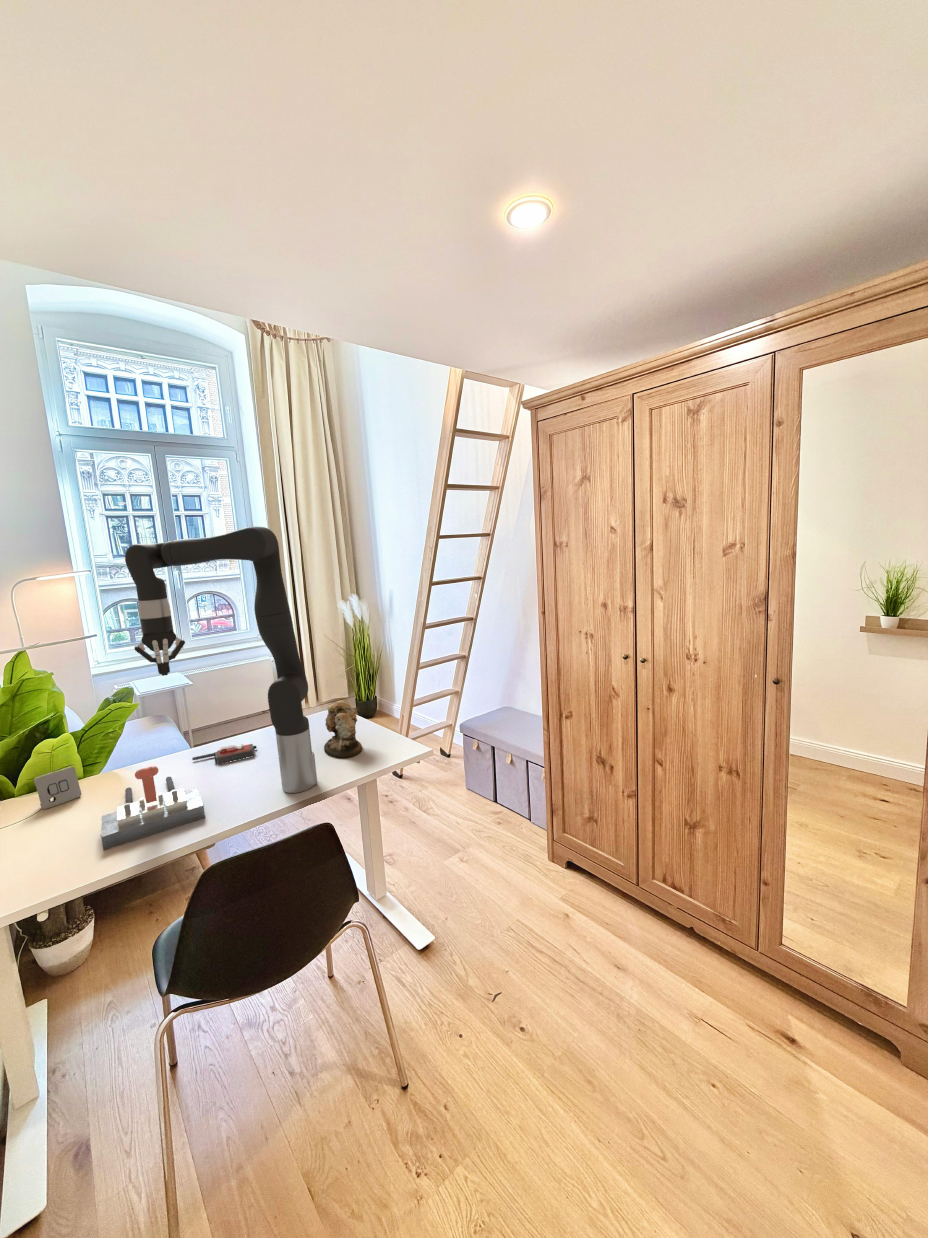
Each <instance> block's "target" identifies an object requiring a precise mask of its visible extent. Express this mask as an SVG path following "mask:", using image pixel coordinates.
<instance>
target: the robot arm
mask: <svg viewBox="0 0 928 1238" xmlns="http://www.w3.org/2000/svg"><path fill="white" fill-rule="evenodd" d="M279 545H280V544H279V541H278V538H277V536H276V534H275V533H274V532H273V531H272V530H271V529H269V528H267V527H265V526H246V527H244V528H240V529H237V530H234V531H232V532H227V533H224V534H220V535H216V536H208V537H190V538H182V539H174V540H173V539H172V540H168V541H166V542H157V543H156V542H155V543H135V544H131V545H129V547H128V548H127V549H126V550H125V554H124V555H125V556H124V561H125V565H126V567H127V570H128V572H129V575H130V577H131V579H132V581H133V583H134V585H135V587H136V588H135V589H136V594H137V602H138V616H139V621H140V626H141V633H142V637H141V641H140V643H138V644H137V645H135V646H134V651H135V652H137V653H138V654H139V655H141V656H142V657H143V658H145V659H146V660H147V661H148V662H149V663H155V664H156V665H157V672H158V674H159V675H161V676H162V677H164V676H168V675H169V673H171V668H170V661H172V660H175V658H176V657H177V656H178V654H179V653H180V651H181V650H182V648H183V647H184V645H186V641H185V640H184V639H181V638H179V637H178V636H177V634H176V633H175V631H174V625H173V620H172V612H171V606H170V602H169V598H168V592H167V585H166V582H165V580H164V579H163V578H161V577H157V575H156V573H155V570H154V569H156V570H157V569H162V568H167V567H181V566H188V565H189V566H190V565H197V564H198V565H199V564H203V563H207V562H211V561H219V560H239V561H240V560H241V561H248V562H249V561H251V562H252V564H253V568H254V572H255V578H256V590H255V596H254V604H253V605H254V609H253V610H254V615H255V620H256V625H257V630H258V633H259V635H260V637H261V640H262V642H263V643H264V644H265V646H266V647H267V649H268V650H269V652H270V654H271V656H272V658H273V661H274V664H275V670H276V676H277V677H276V678H277V679H275V681H273V682H272V683H270V686H269V687H268V691H267V703H268V710H269V714H270V721H271V724H272V726H273V728H274V729H275V736H276V737H275V738H276V746H277V754H278V763H279V765H278V766H279V770H280V771H279V772H280V773H279V774H280V780H281V787H282V791H283V792H285V793H287V794H295V793H296V794H297V793H302V792H305V791H308V790H309V789H311V788H313V787H314V786H316V785H318V775H317V765H316V756H315V753H314V752H313V750H312V741H311V740H312V739H311V730H310V723H309V721H310V720H309V719H308V717H307V716H305V715H304V711H303V705H302V702H303V701H304V700H305V699H306V697H307V695H308V692H309V683H308V679H307V676H306V673H305V670H304V668H303V664H302V660H301V658H300V655H299V650H298V644H297V643H298V642H297V638H296V634H295V628H294V624H293V618H292V613H291V608H290V605H289V601H288V596H287V591H286V587H285V583H284V582H285V581H284V578H283V574H282V573H283V572H282V565H281V564H282V563H281V555H280V546H279ZM173 644H174V645H175V647H174V648H173V650H172V652H171V653H170V654H169V649H170V648H172V646H173ZM145 646H146V648H147V649H149V650H150V651H151V652H153V653H154V656H152V655H150V654H149V653H148V652H147V651H146V648H145ZM160 651H162V656H161V652H160Z"/></svg>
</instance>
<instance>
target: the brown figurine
mask: <svg viewBox="0 0 928 1238" xmlns="http://www.w3.org/2000/svg"><path fill="white" fill-rule="evenodd" d="M357 722H358V718H357V712H356V710H355V709H354V708H352V706H351V704H350V703H349V702H348V701H347V700H338V701H336V702H334V703H332V704H329V705H328V706H327V715H326V717H325V727H326V730H327V731H328V733H334V735H332V736H331V738H329V739H328V740H327V741H326V742H325V743H324V746H323V750H324V753H325V754H327V756H329V757H331V756H332V757H333V758H334V757H335V759H349V758H353V757H356V756H358V755H360V754H361V752H362V751H363V746H362V743H361V742H360V741H358V740H357V738H356V734H357V731H356V724H357ZM332 757H331V758H332Z"/></svg>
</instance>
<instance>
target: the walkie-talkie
mask: <svg viewBox="0 0 928 1238" xmlns="http://www.w3.org/2000/svg"><path fill="white" fill-rule="evenodd" d="M256 749H257V745H254V744H253V743H248V744H245V745H244V743H242V744H240V746H239V745H235V744H233V745H228V746H222V747H220V748H219V749H218V750H216V752H215V751H214V752H212V753H207V754H204V755H198V756H194V757H192V759H191V760H192V761H197V760H202V759H206V758H207V759H208V758H211V757H214V762H215V764H216V763H217V765H223V764H227V763H226V762H228V763H231V762H230V761H232V762H235V761H234V760H236V761H240V760H239V759H241V760H244V759H243V758H246V757H250V758H252V757H251V756H253V757H255V756H254V755H255V750H256ZM246 759H247V758H246ZM222 763H223V764H222Z"/></svg>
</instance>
